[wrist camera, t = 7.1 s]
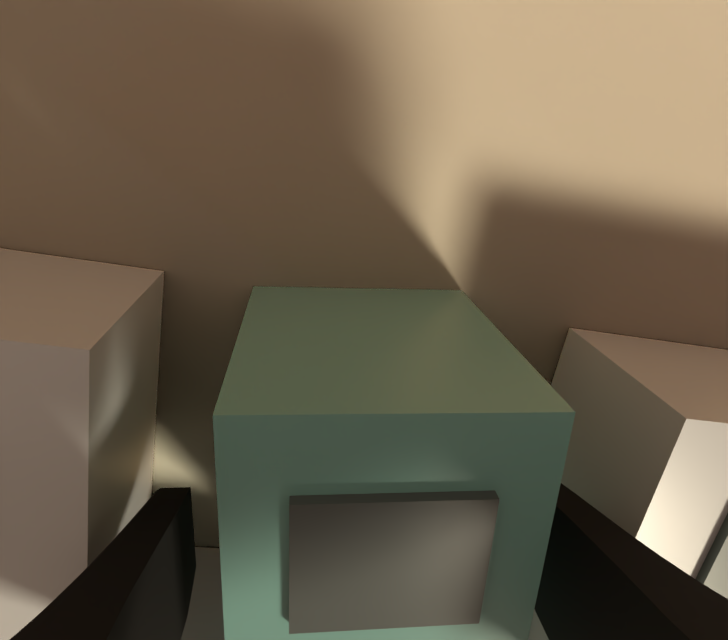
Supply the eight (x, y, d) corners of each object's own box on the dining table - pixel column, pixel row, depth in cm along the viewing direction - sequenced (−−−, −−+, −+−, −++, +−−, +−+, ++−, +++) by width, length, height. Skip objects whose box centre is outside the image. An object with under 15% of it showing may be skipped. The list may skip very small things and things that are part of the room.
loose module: (460, 289, 13) (582, 419, 7) (433, 519, 16) (510, 755, 10) (253, 285, 13) (209, 423, 7) (259, 525, 15) (230, 779, 9)
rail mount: (832, 364, 15) (1052, 464, 11) (695, 634, 18) (818, 796, 14) (-245, 214, 11) (-616, 276, 6) (-170, 596, 14) (-382, 808, 10)
